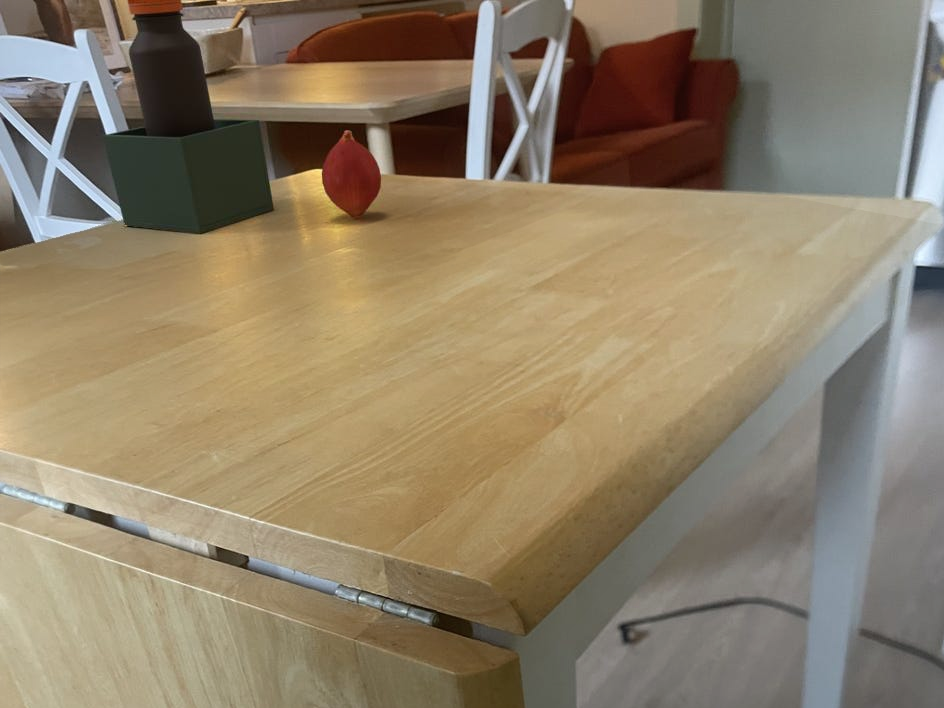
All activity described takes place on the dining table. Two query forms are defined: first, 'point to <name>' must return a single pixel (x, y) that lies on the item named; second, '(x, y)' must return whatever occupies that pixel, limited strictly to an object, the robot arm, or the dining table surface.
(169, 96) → the vinegar
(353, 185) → the onion
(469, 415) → the dining table surface
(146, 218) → the open box
